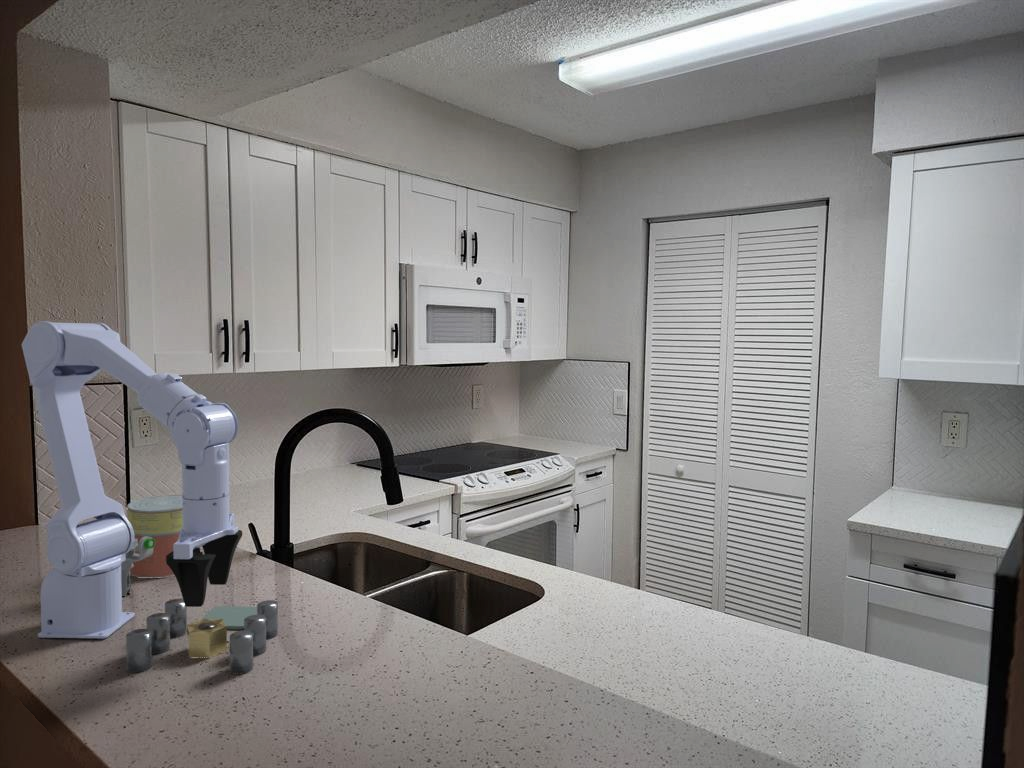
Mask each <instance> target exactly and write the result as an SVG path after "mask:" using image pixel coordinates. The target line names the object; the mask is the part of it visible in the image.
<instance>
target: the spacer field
mask: <svg viewBox="0 0 1024 768" xmlns="http://www.w3.org/2000/svg"><path fill="white" fill-rule="evenodd" d="M256 607H257V615H251V616H248V617H246V618H245V619H244V630H236V631H235V632H232V633H231V634H230V635H229V672H230V674H232V673H234V674H233V675H241V674H240V673H244V674H246V673H245V672H247V673H249V671H250V670H251V671H252V670H253V669H254V656H253V655H255V656H260V655H263V654H264V653H265V652H266V651H267V640H268V639H273V638H275V637H277V636H278V634H279V602H278V601H277V600H272V599H267V600H262V601H260V602H257V604H256ZM187 609H188V608H187V607H186V606H185V603H184V600H183V598H174V599H169V600H167V601H165V603H164V612H159V613H158V612H157V613H154V614H151V615H148V616H147V617H146V628H138V629H137V628H136V629H135V630H132V631H129V632H128V633H126V636H125V640H126V641H125V642H126V643H125V645H126V646H125V649H126V651H125V652H126V672H127V673H131V674H139V673H143V672H146V671H147V670H149V669H151V668H152V666H153V665H152V658H153V657H152V655H159V654H158V653H160V654H163V652H164V653H165V652H168V651H169V650H170V649H171V638H177V637H176V636H179V637H181V636H180V635H182V636H184V635H186V634H187V625H188V620H187V619H188V616H187V615H188V613H187V612H188V611H187ZM185 633H186V634H185ZM183 634H184V635H183ZM151 653H152V654H151ZM259 654H260V655H259ZM151 665H152V666H151ZM251 671H250V672H251ZM235 673H236V674H235ZM237 673H238V674H237Z"/></svg>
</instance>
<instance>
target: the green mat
mask: <svg viewBox="0 0 1024 768" xmlns="http://www.w3.org/2000/svg"><path fill="white" fill-rule="evenodd" d="M251 615H257V606H231V605H230V606H227V605H223V606H222V605H214V606H213V607H212V608H211V609H210V610H209V611H208V612H207V613H206V614H205V615H204V616H203V617H202V618H201V619H200V620H202V619H224V621H225V624H226V626H227V630H241V629H244V619H245V618H246V617H248V616H251Z"/></svg>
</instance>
